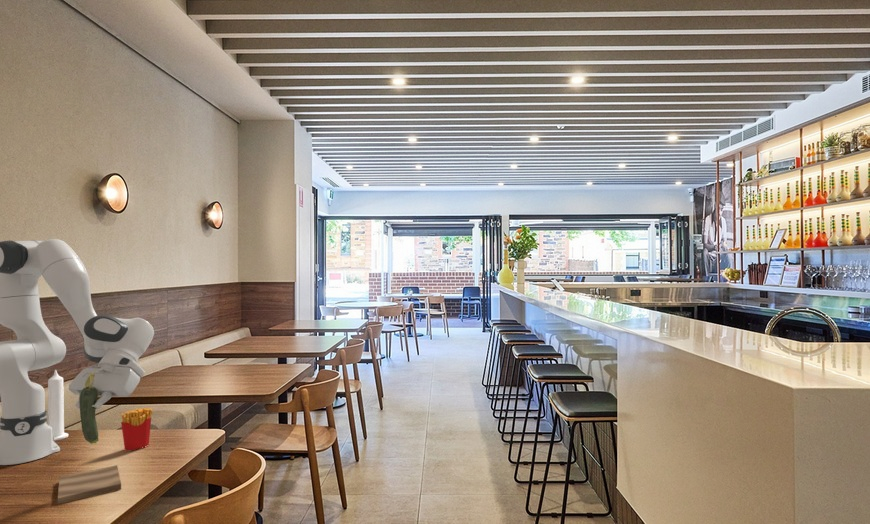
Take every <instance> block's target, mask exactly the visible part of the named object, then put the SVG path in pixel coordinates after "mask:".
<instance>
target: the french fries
mask: <svg viewBox="0 0 870 524" xmlns="http://www.w3.org/2000/svg"><path fill="white" fill-rule="evenodd" d="M124 413H125V414H124ZM120 414H121V420H122V421H121V422H120V423H121V425H120V426H121V433H122V439H123V445H124V446H123V447H124V450H133V451H135V450H134V449H137V450H139V449H138V448H142V447H145V446H147V445H149V446H150V437H151V435H150V434H151V425H152V414H153V408H151V407H149V408H146V407H142V408H141V407H139V408H135V410H126V411H125V412H122V413H120ZM142 449H143V448H142Z"/></svg>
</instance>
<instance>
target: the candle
mask: <svg viewBox="0 0 870 524" xmlns="http://www.w3.org/2000/svg"><path fill="white" fill-rule="evenodd" d="M57 370H58V369H54V372H53V374H52V376H51V377H50V378H49V379H47V389H48V391H47V393H48V395H47V396H48V400H47V401H48V408H47V410H48V425H49V426H50V427H52V437H54V440H53V441H54V442H55V441H59V440H63V439H66V438H69V433H68V432H65V406H64V405H65V403H64V401H65V400H64V399H65V396H64V395H65V394H64V391H65V389H64V387H65V386H64V377H63V376H60V375H59V374H58V371H57Z"/></svg>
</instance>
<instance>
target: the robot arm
mask: <svg viewBox="0 0 870 524" xmlns="http://www.w3.org/2000/svg"><path fill="white" fill-rule="evenodd" d="M41 276H42V277H43V279H44V281H45V282H46V284H47V285H48V286H49V288H50V289H51V290H52V292H53V293H54V294H55V295H56V297H57V298H58V300H59V301H60V302H61V304H62V305H63V306H64V308H65V309H66V310H67V313H69V315H70V318H71V319H72V320H73V322H74V324H75V326H76V327H77V329H78V331H79V333H80V334H81V337H82V339H83V354H84V356H85V358H87V360H89V361H90V362H93V363H98V364H97V365H96V364H95V365H94V364H93V365H90V366H88V367H87V368H84V369H82V370H81V371H80V372H79V373H78V374H77V375H76V376H75V377H74V378H73V380H71V382H70V383H69V385H68V390H69V391H70V392H71V393H73V394H74V395H75V396H76V395H77V396H78V398H79V397H80V393H81V391H82V389H84V388H85V382H86V380H87V378H88V377H89V375H90V374H91V373H92V372H93V373H94V374H95V376H94V383H93V385H92V386H93V387H95V388H96V389H97V392H98V397H99V398H98V399H97V401H94V402H93V404H92V408H94V409H96V410H100V409H101V407H102V406H103V405H104V404H105V403H107V402H108V401H109V400H110V399H111V398H112V397H125V398H126V397H129V396H130V395H131V394H133V393H134V391H135V389H136V388H137V386H138V385H139V383H140V381H141V378H143V377H144V375H145V373H146V371H145V370H144V369H143V368H142V367H141V365H140V364H139V363H138V361H139V358H140V357H141V356H143V354H144V353H145V352H146V351H147V350H148V347H150V344H151V342H152V341H153V339H154V335H155V330H154V329H155V328H154V327H153V325H152V324H151V323H150V322H149V321H148V320H146V319H145V318H142V317H134V318H120V317H115V316H112V315H109V314H99V315H98V314H97V313H96V311H95V309H94V306H93V302H92V296H91V294H92V293H91V280H90V279H91V278H90V276H89V273H88V271H87V269H86V265H84V263H83V261H82V259H81V258H80V257H79V256H78V254H77V253H76V251H74V249H73V248H72V247H71V246H70V245H69V244H68V243H67V242H65V241H64V240H61V239H58V238H49V239H46V240H45V239H44V240H36V239H31V240H15V241H13V240H4V241H3V240H2V241H0V325H1V326H3V327H5V328H8V329H10V330H12V331H13V332H14V333H15V336H16V338H17V339H11V340H4V341H2V340H1V341H0V405H1V417H0V466H8V465H9V466H11V465H18V464H24V463H27V462H28V463H29V462H32V461H36V460H38V459H42V458H45V457H47V456H49V455H51V454H56V453H57V452H60V451H61V447H60V446H59V445H58V444H57V443H56V442H55V441H53V440H54V437H52V427H50V426H49V423H47V422H48V413H47V410H46V397H45V396H46V395H45V394H46V393H45V392H46V391H45V388H44V387H43V386H42V385H41V384H39V383H38V382H37V383H36V382H34V381H32V380H30V377H29V373H28V372H31V371H36V370H41V369H46V368H49V367H52V366H54V365H56V364H59V363H61V362H62V361H63V360H64V359H65V357H66V354H67V347H66V344H65V342H64V340H63V339H62V338H60V337H58V336H57V335H55V334H53V333H52V331H50V329H49V328H48V327H47V325H46V323H45V321H44V319H43V315H42V308H41V302H40V301H41V300H40V292H39V286H38V284H39V283H38V282H39V278H40V277H41ZM75 407H76V408H77V409H80V403H79V399H78V400H77V402H76V403H75Z"/></svg>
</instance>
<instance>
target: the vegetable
mask: <svg viewBox="0 0 870 524" xmlns="http://www.w3.org/2000/svg"><path fill="white" fill-rule="evenodd" d="M94 376H95V374H94V373H93V372H92V373H91V374H90V375H89V377H88V378H87V380H86V382H85V388H84V389H82V391H81V393H80V397H79V396H78V400H79V403H80V408H79V413H80V422H81V423H80V424H81V429H82V435H83V437H84V440H85V441H86V442H89V444H91V445H92V444H97V442H99V431H98V423H97V420H96V419H97V418H96V410H97V409H94V408H92V404H93V402H94V401H97V400H98V399H99V398H98V397H99V396H98V392H97V389H96V388H95V387H93V386H92V385H93V383H94Z"/></svg>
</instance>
